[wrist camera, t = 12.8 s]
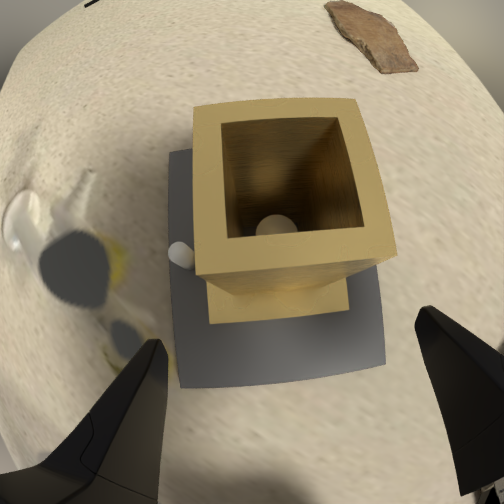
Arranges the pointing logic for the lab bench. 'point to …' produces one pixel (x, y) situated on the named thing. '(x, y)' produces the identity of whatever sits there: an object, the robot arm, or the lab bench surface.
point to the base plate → (263, 331)
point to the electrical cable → (90, 3)
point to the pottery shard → (372, 37)
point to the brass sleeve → (285, 206)
